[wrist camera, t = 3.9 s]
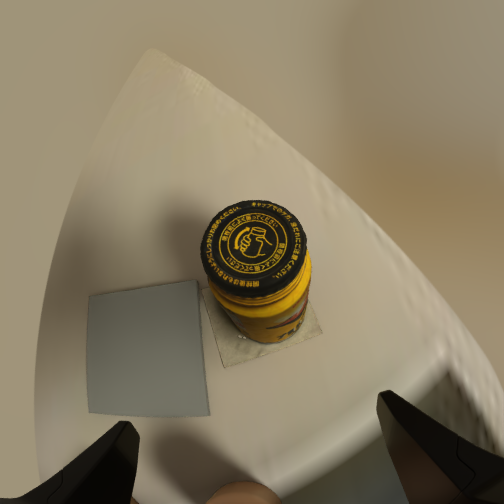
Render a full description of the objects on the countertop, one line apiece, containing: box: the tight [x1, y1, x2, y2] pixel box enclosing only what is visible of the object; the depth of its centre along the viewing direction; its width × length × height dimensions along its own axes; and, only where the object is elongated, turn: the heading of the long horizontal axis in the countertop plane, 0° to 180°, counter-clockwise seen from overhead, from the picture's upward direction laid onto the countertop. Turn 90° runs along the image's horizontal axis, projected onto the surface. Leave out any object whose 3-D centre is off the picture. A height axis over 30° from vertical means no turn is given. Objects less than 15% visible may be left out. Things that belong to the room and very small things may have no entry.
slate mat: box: [87, 280, 210, 417], centre depth 24 cm, size 12×12×1 cm
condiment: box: [200, 200, 322, 368], centre depth 19 cm, size 7×8×12 cm
